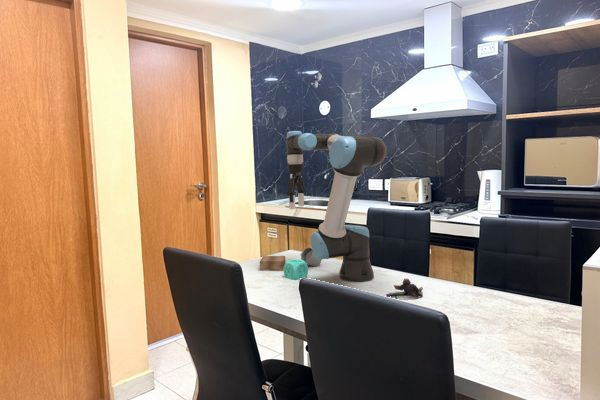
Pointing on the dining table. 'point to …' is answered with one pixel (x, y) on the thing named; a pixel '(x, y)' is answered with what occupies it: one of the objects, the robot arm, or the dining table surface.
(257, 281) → the dining table surface
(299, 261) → the decorative dice
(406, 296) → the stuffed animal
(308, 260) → the ceramic mug
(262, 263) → the base block
